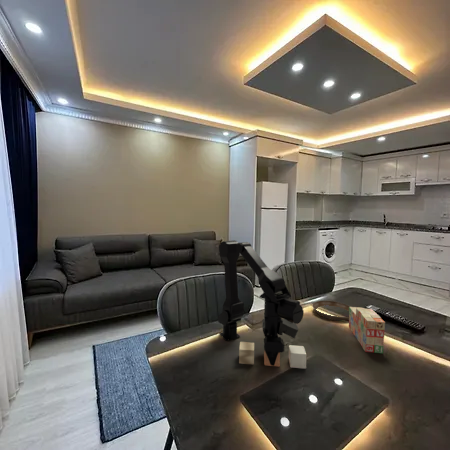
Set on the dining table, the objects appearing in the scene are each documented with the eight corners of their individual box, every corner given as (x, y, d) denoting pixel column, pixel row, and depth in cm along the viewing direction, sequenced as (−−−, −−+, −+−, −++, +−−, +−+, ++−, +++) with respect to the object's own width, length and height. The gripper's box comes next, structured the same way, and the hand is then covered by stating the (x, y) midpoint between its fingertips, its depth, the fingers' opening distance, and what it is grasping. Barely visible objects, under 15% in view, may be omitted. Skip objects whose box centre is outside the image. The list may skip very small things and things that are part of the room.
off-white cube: (290, 367, 84) (290, 353, 84) (288, 358, 89) (288, 345, 89) (305, 368, 83) (306, 354, 83) (303, 360, 88) (303, 346, 88)
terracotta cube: (264, 365, 85) (264, 351, 85) (263, 356, 90) (264, 343, 90) (279, 366, 84) (279, 352, 84) (278, 358, 89) (278, 344, 89)
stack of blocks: (348, 326, 115) (349, 300, 114) (362, 327, 114) (364, 301, 113) (365, 352, 94) (366, 320, 93) (383, 354, 93) (385, 321, 92)
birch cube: (239, 363, 86) (239, 349, 86) (239, 355, 91) (240, 341, 90) (253, 364, 85) (254, 350, 85) (253, 356, 90) (254, 342, 90)
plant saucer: (364, 323, 118) (365, 316, 118) (320, 322, 119) (320, 315, 119) (344, 306, 139) (344, 300, 139) (307, 306, 139) (307, 300, 139)
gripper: (301, 327, 76) (300, 376, 77) (292, 304, 94) (291, 344, 95) (264, 324, 77) (263, 373, 78) (262, 302, 96) (261, 342, 97)
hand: (271, 357), depth 87 cm, fingers open, 9 cm apart
